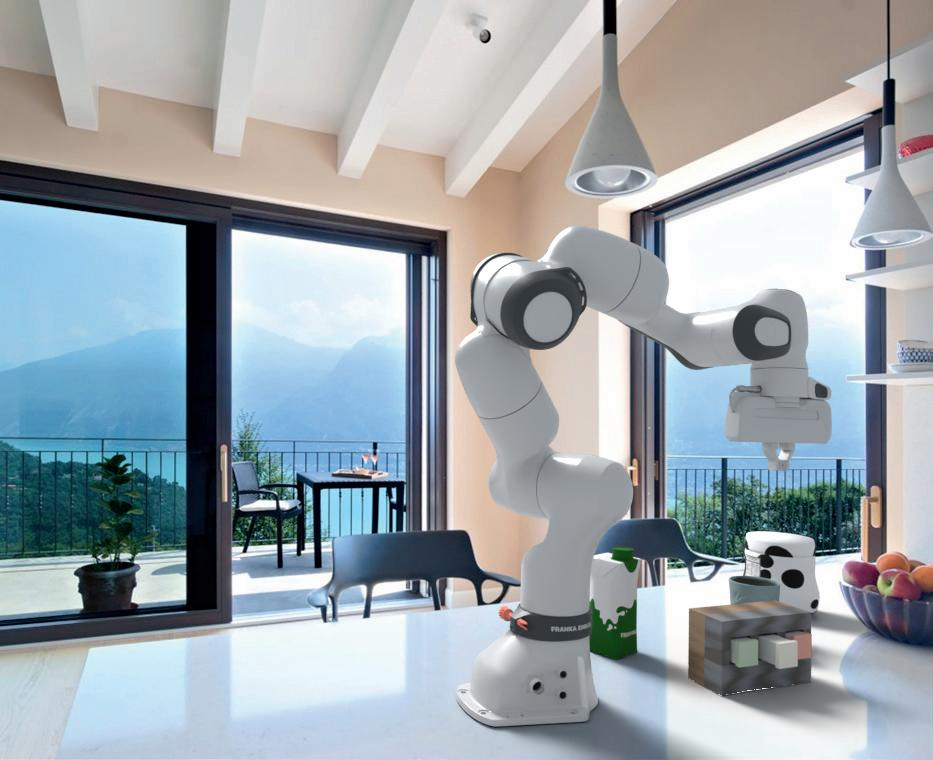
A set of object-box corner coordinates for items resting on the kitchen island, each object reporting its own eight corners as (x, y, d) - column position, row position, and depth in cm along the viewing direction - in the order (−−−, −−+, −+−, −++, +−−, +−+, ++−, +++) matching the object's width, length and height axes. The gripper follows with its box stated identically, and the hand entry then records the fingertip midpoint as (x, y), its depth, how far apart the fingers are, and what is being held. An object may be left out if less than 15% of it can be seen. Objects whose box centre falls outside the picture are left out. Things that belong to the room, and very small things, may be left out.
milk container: (826, 611, 164) (826, 537, 165) (811, 627, 150) (811, 546, 151) (751, 598, 174) (752, 528, 176) (731, 612, 161) (731, 536, 162)
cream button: (779, 669, 109) (779, 643, 110) (756, 658, 114) (756, 634, 114) (797, 666, 111) (797, 641, 111) (774, 656, 115) (774, 632, 115)
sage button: (739, 667, 109) (739, 642, 110) (718, 657, 114) (718, 633, 114) (758, 664, 111) (758, 640, 111) (736, 655, 115) (736, 631, 116)
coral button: (794, 659, 114) (794, 635, 114) (771, 650, 118) (771, 627, 119) (811, 657, 115) (811, 633, 116) (788, 648, 120) (788, 625, 120)
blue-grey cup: (758, 649, 134) (758, 588, 135) (717, 634, 143) (718, 577, 144) (791, 642, 139) (791, 583, 140) (749, 628, 148) (749, 573, 149)
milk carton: (619, 662, 124) (621, 553, 125) (578, 649, 131) (581, 545, 132) (644, 652, 130) (645, 547, 131) (604, 640, 137) (606, 540, 138)
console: (721, 696, 110) (722, 621, 111) (688, 678, 117) (688, 608, 118) (811, 682, 117) (811, 612, 118) (774, 666, 125) (774, 600, 126)
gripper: (745, 383, 106) (744, 472, 105) (838, 389, 113) (839, 472, 112) (716, 385, 111) (715, 468, 111) (807, 390, 119) (807, 469, 118)
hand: (778, 470), depth 111 cm, fingers closed
